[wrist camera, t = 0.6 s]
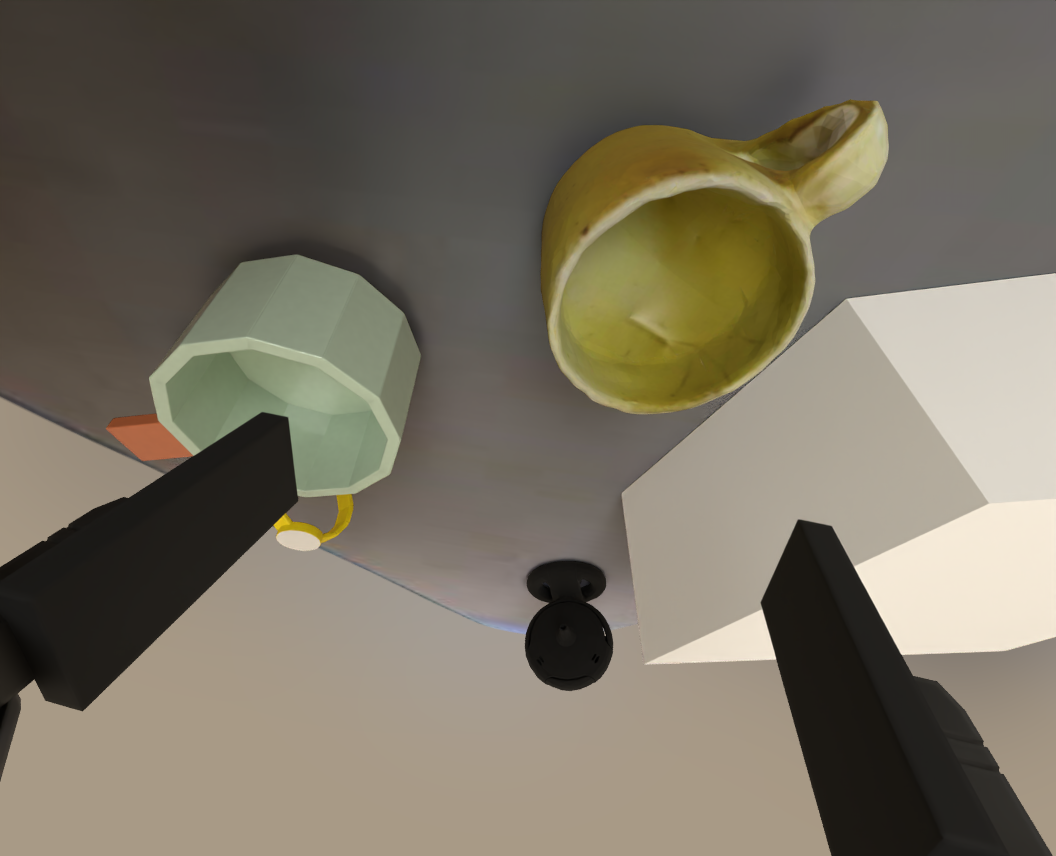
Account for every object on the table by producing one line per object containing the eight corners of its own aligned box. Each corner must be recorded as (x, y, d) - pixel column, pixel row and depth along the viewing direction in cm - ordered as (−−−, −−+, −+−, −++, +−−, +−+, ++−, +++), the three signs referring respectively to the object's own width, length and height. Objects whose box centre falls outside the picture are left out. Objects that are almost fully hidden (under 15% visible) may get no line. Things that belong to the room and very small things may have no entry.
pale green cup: (376, 242, 23) (341, 325, 19) (440, 404, 30) (425, 488, 26) (113, 279, 24) (28, 363, 20) (236, 424, 32) (192, 507, 28)
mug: (600, 386, 28) (627, 485, 19) (492, 218, 25) (463, 243, 16) (820, 257, 25) (976, 305, 16) (733, 41, 21) (872, -54, 12)
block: (1252, 362, 29) (1541, 566, 21) (669, 541, 44) (699, 698, 36) (1377, 56, 18) (2067, 218, 10) (558, 430, 34) (564, 615, 26)
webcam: (532, 596, 53) (532, 703, 46) (519, 562, 47) (515, 677, 41) (609, 591, 52) (619, 700, 45) (603, 556, 46) (614, 674, 40)
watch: (273, 453, 36) (240, 527, 32) (296, 438, 35) (265, 513, 31) (343, 493, 40) (321, 564, 36) (367, 480, 38) (347, 552, 34)
